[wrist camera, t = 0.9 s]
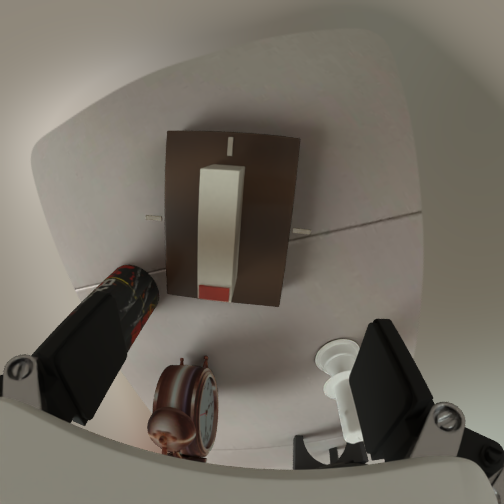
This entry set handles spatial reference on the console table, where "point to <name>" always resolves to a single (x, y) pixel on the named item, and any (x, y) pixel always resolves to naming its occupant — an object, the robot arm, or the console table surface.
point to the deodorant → (126, 300)
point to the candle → (341, 383)
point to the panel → (253, 209)
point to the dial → (219, 230)
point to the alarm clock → (185, 412)
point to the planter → (349, 458)
